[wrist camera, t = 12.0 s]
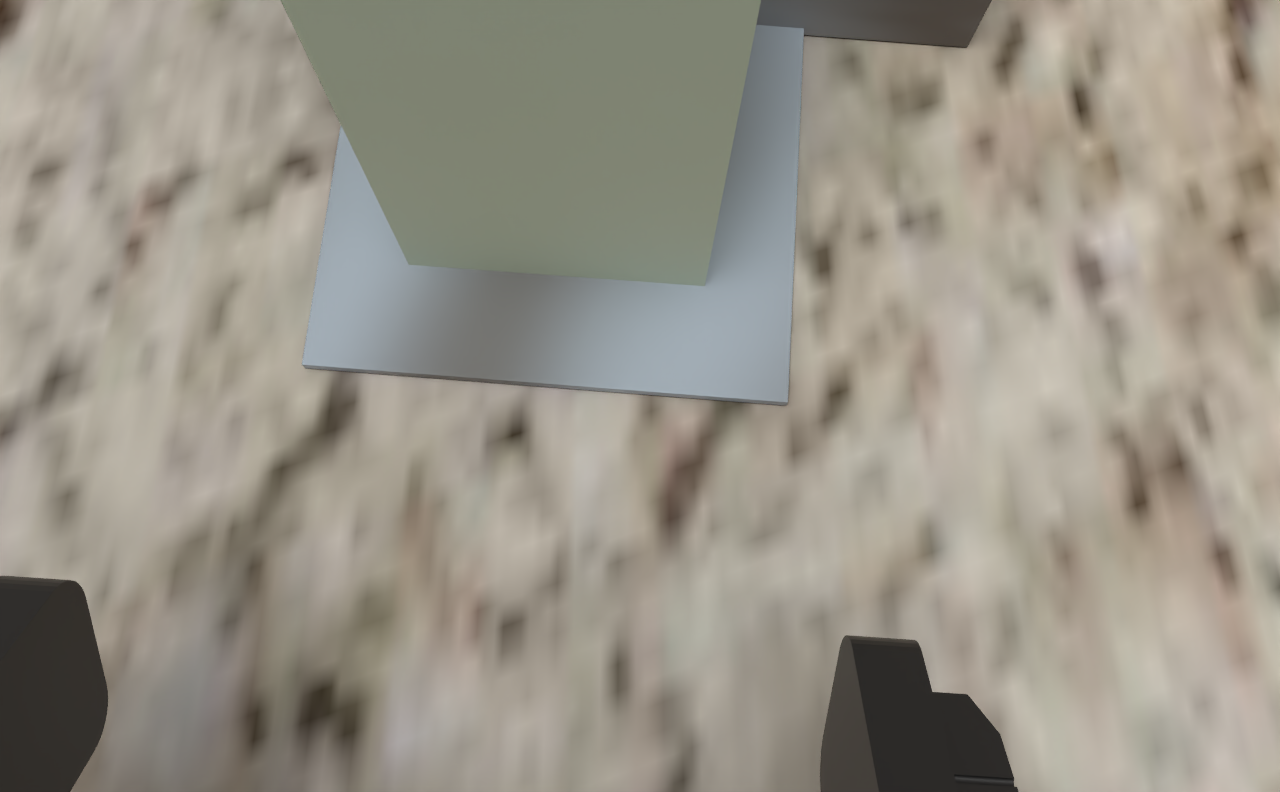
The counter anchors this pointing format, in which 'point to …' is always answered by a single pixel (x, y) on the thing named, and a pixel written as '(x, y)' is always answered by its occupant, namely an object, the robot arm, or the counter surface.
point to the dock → (604, 308)
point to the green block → (540, 126)
